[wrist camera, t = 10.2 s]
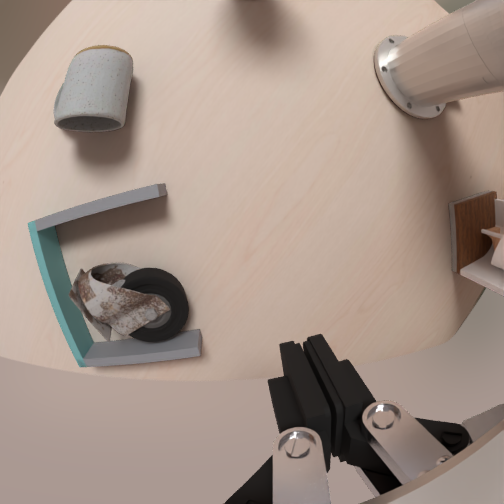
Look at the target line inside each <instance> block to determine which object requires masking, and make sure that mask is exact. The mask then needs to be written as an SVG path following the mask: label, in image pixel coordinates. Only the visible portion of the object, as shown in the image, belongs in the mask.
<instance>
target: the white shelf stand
mask: <svg viewBox="0 0 504 504" xmlns="http://www.w3.org/2000/svg"><path fill="white" fill-rule="evenodd" d="M449 213H450V225H451V245H452V271H453V272H456V273H458V274H460V275H462V276H464V277H466V278H468V279H470V280H472V281H474V282H476V283H478V284H480V285H482V286H484V287H486V288H488V289H490V290H492V291H494V292H496V293H498V294H500V295H502V296H504V200H501V199H497V194H496V192H495V191H485V192H482V193H479V194H476V195H473V196H470V197H467V198H464V199H461V200H458V201H455V202H452V203H449Z"/></svg>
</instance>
